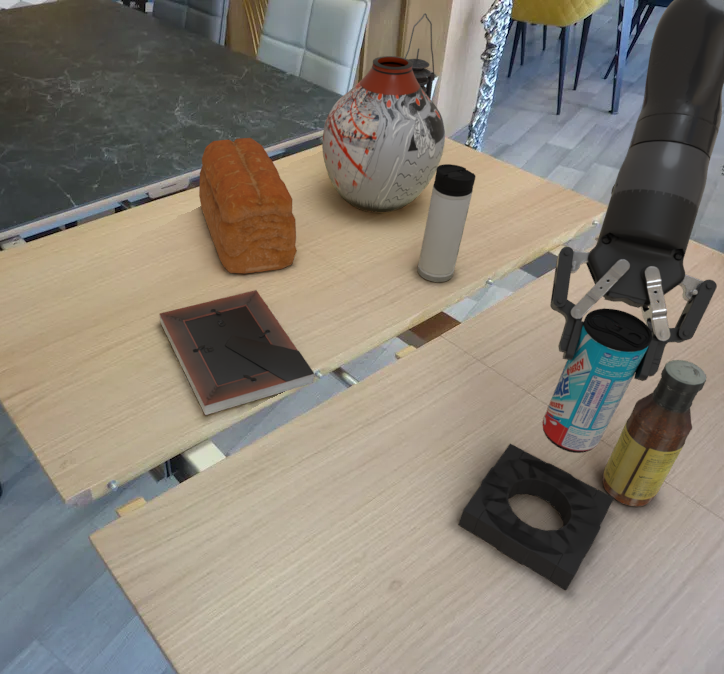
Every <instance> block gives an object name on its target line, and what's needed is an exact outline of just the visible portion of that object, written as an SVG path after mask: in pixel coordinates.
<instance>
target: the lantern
mask: <svg viewBox="0 0 724 674" xmlns="http://www.w3.org/2000/svg"><path fill="white" fill-rule="evenodd" d="M424 17H425V18H426V20H427V21H428V22H429V25H430V27H429V29H430V52H431V59H432V60H431V61H432V62H431V63H432V72H431V70H430V69H428V68H429V67H430V63H429V62H428V61H426V60H425V59H421V58H419V52H420V48H419V47H418V48H417V52H416V58H409V59H408V58H407V56H408V55H409V52H410V49H411V45H412V40H413V36H414V32H415V28H416V26H417V25H418V24H419V23H420V22H421V21H422V20H423V19H424ZM404 58H405V59H408V60H410V61H411V62H412V63H413V66H412V70H413V73H414V76H415V78H416V80H417V81H418V83H419V85H420V86H421V88H422V89H423V91H424V92H425V93H426V94H427V96H428V97H429V98H430V99H431V100H432V91H433V90H432V89H433V83H434V81H435V79H436V74H435V60H434V59H435V58H434V50H433V24H432V21H431V20H430V18H429V17H428V14H427V13H423V15H422V16H421V17H420V19H419V20H418V21H417V22H416V23H415V24H414V25H413V27H412V31H411V35H410V39H409V43H408V49H407V52H406V54H405V56H404Z"/></svg>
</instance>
